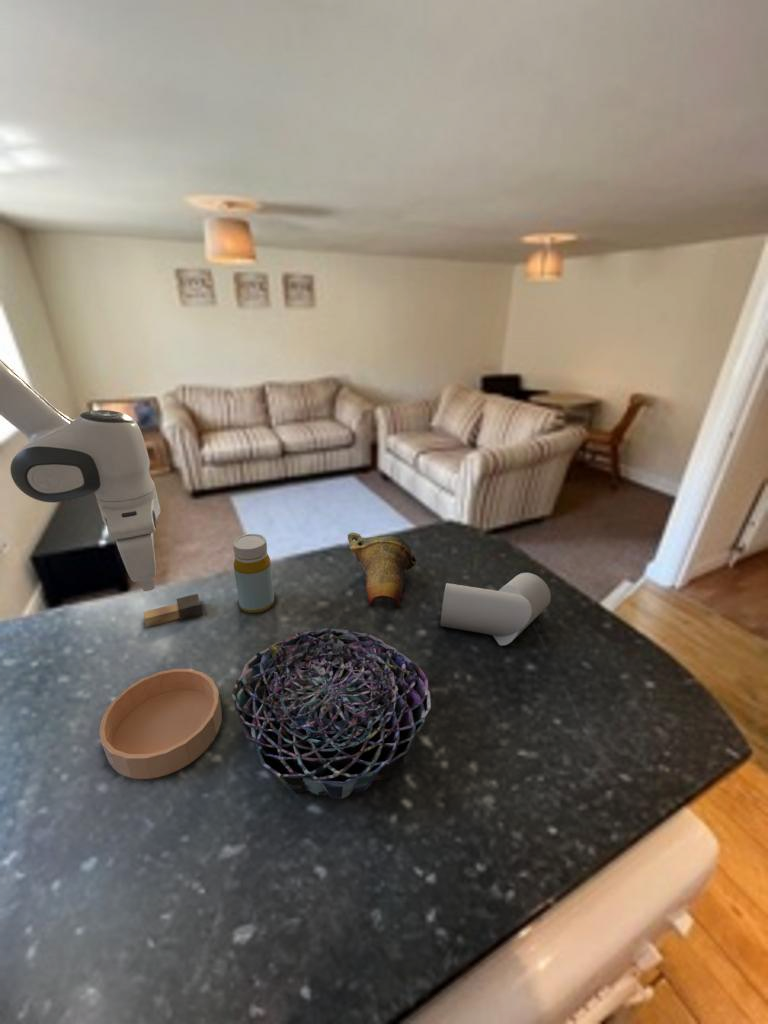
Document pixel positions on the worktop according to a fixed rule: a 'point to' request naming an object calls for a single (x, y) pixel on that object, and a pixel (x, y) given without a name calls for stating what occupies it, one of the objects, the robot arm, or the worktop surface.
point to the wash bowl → (161, 723)
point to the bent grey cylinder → (496, 607)
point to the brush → (175, 611)
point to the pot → (383, 563)
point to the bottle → (253, 573)
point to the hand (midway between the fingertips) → (147, 575)
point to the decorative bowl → (331, 709)
